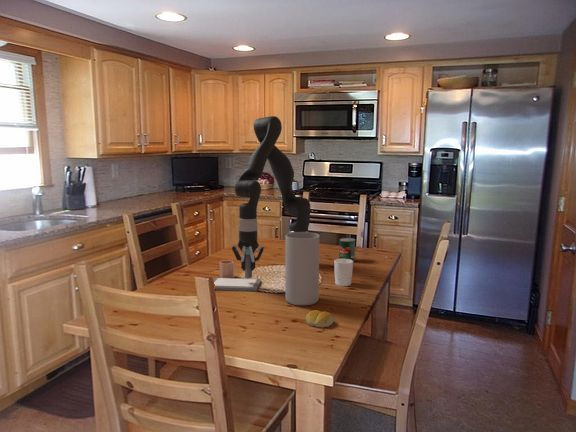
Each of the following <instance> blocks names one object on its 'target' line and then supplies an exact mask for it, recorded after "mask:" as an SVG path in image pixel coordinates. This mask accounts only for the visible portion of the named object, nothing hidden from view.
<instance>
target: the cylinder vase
mask: <svg viewBox="0 0 576 432" xmlns="http://www.w3.org/2000/svg"><path fill="white" fill-rule="evenodd" d="M284 239H285V240H284V241H285V245H284V246H285V251H284V252H285V255H284V256H285V258H284V260H285V261H284V262H285V264H284V266H285V271H284V272H285V275H284V276H285V277H284V278H285V282H284V284H285V285H284V286H285V291H284V293H285V301H286V302H287V303H288V304H291V305H294V306H302V307H303V306H304V307H305V306H311V305H315V304H316V303H318V301H319V298H320V297H319V295H320V293H319V291H320V289H319V288H320V287H319V286H320V284H319V283H320V280H319V279H320V234H318V233H315V232H309V231H308V232H294V233H289V232H288V233H286V234H285V237H284Z"/></svg>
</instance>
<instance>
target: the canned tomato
mask: <svg viewBox="0 0 576 432" xmlns="http://www.w3.org/2000/svg"><path fill="white" fill-rule="evenodd" d="M338 251H339V253H338V256H339V258H338V259H350V260H352V261H353V263H354V262H355V261H356V259H355V257H356V239H355V238H351V237H342V238H340V239H339V250H338Z"/></svg>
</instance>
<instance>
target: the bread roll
mask: <svg viewBox="0 0 576 432" xmlns="http://www.w3.org/2000/svg"><path fill="white" fill-rule="evenodd" d="M305 321H306V324H307V325H308V326H311V327H316V328H329V327H331V326H332V325H333V323H335V322H334V321H335V318H334V316H333V315H332V314H331V313H330V312H328V311H320V310H318V309H315V310H314V309H313V310H311V311H308V313H306V316H305Z"/></svg>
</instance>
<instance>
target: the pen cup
mask: <svg viewBox="0 0 576 432" xmlns="http://www.w3.org/2000/svg"><path fill="white" fill-rule="evenodd" d="M218 265H219V269H218V270H219V278H235V261H233V260H228V259H226V260H225V259H224V260H220V261H219V263H218Z"/></svg>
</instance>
